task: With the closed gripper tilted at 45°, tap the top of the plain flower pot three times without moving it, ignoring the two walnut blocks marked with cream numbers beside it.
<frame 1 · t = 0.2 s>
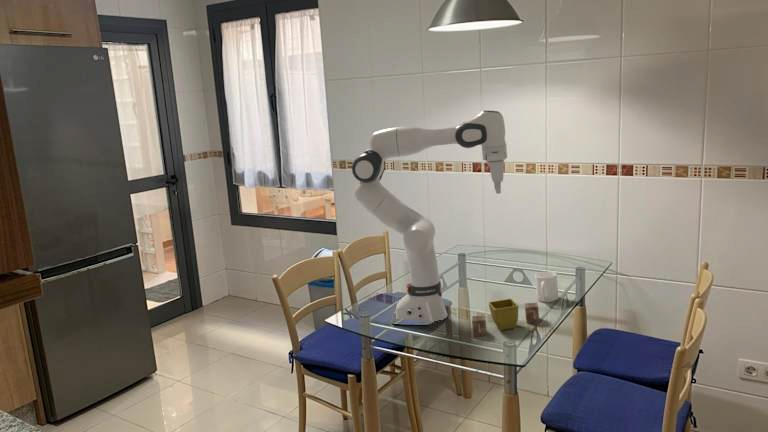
hand: (497, 191, 216), 47 cm above the table, tool pointing down, fingers open, 8 cm apart
numbered block seven: (532, 320, 214), on the table
numbered block one: (480, 334, 208), on the table
flower pot: (505, 327, 211), on the table
mug: (546, 301, 232), on the table
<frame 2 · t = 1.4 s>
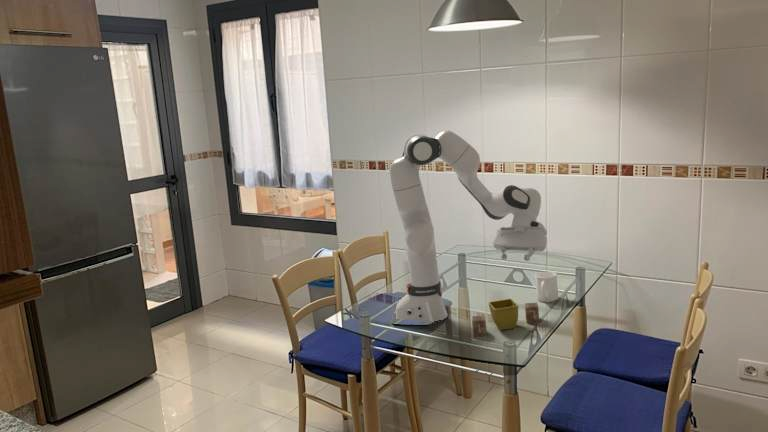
hand: (514, 259, 216), 22 cm above the table, tool tilted 45°, fingers open, 8 cm apart
nothing on the table moved.
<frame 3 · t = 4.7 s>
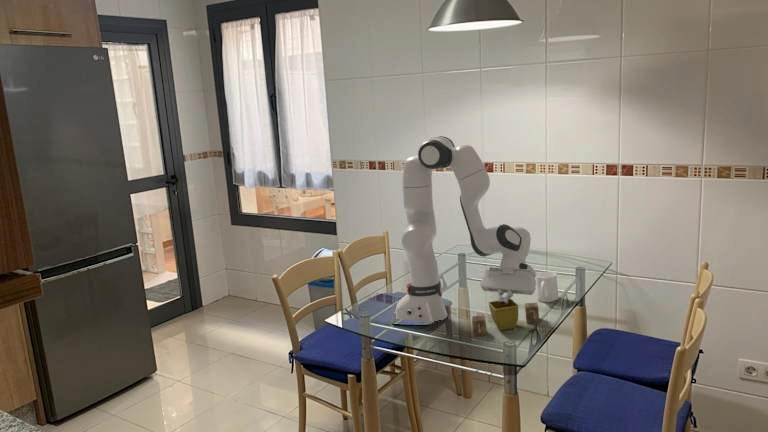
hand: (502, 302, 209), 9 cm above the table, tool tilted 45°, fingers closed, pressing on flower pot
flower pot: (505, 327, 211), on the table, touching gripper
everything else where it was.
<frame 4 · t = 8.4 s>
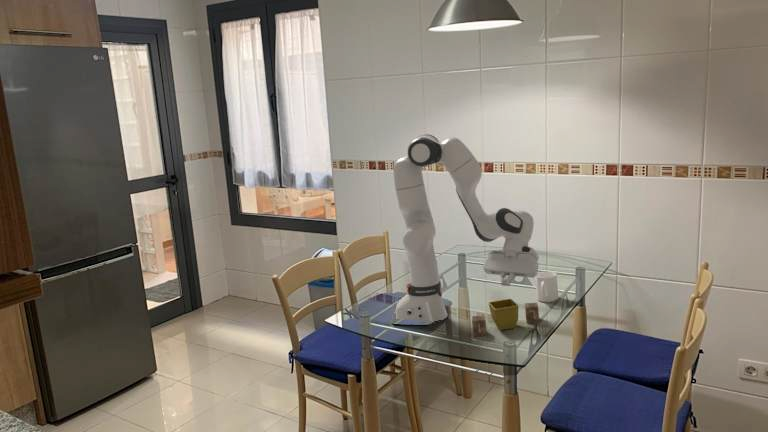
hand: (505, 285, 210), 15 cm above the table, tool tilted 45°, fingers closed
flower pot: (505, 327, 211), on the table
everything else where it was.
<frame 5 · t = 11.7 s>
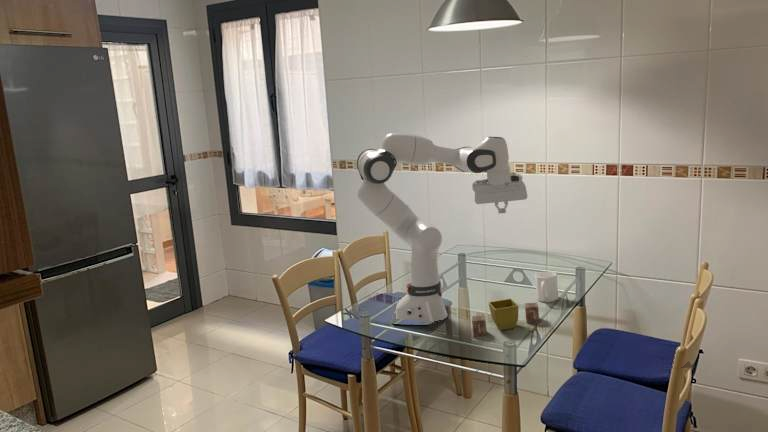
hand: (502, 213, 228), 37 cm above the table, tool pointing down, fingers closed
nothing on the table moved.
at the end: flower pot moved 0.3 cm from its start; flower pot tilted 0°; numbered block seven moved 0.1 cm from its start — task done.
